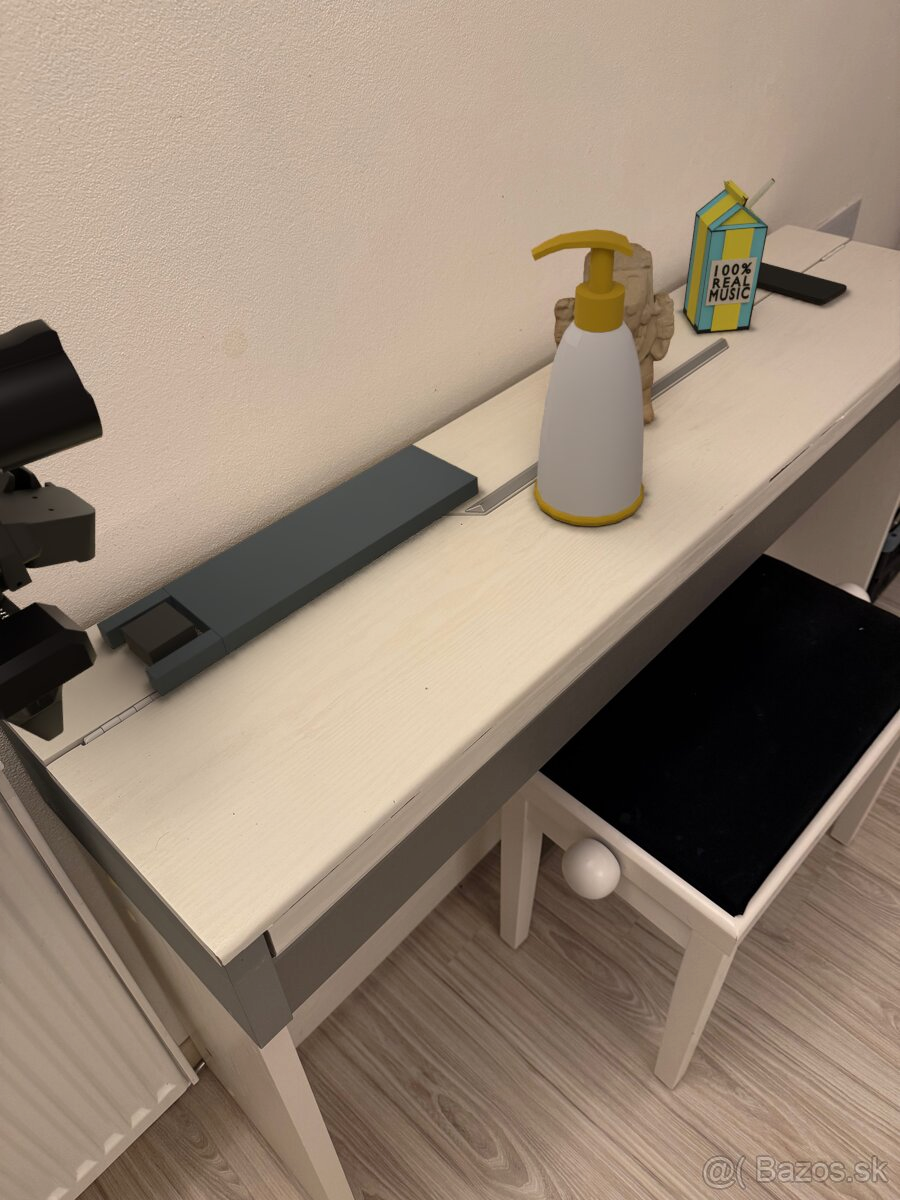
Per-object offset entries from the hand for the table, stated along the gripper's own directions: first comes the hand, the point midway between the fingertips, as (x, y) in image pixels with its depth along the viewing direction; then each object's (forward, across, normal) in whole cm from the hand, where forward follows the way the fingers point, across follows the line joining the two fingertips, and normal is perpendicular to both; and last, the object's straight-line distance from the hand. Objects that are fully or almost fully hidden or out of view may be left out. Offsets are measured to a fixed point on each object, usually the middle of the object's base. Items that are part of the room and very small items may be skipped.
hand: (19, 699), depth 56 cm
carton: (+10, +3, -99) cm, 99 cm away
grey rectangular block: (+11, +8, -29) cm, 33 cm away
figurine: (+11, 0, -68) cm, 69 cm away
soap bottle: (+11, -7, -54) cm, 56 cm away
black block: (+11, +9, -14) cm, 20 cm away
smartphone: (+10, +1, -114) cm, 115 cm away
